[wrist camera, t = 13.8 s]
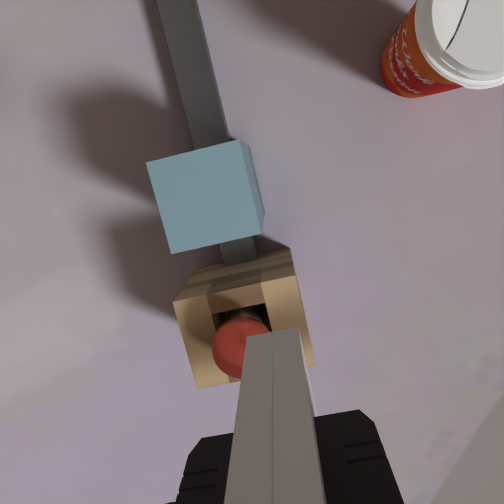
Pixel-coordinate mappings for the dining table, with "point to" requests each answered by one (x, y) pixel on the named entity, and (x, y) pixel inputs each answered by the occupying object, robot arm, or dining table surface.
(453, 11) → the paper cup
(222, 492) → the robot arm
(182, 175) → the block
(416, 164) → the dining table surface
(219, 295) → the housing
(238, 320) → the plunger
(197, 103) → the rail
